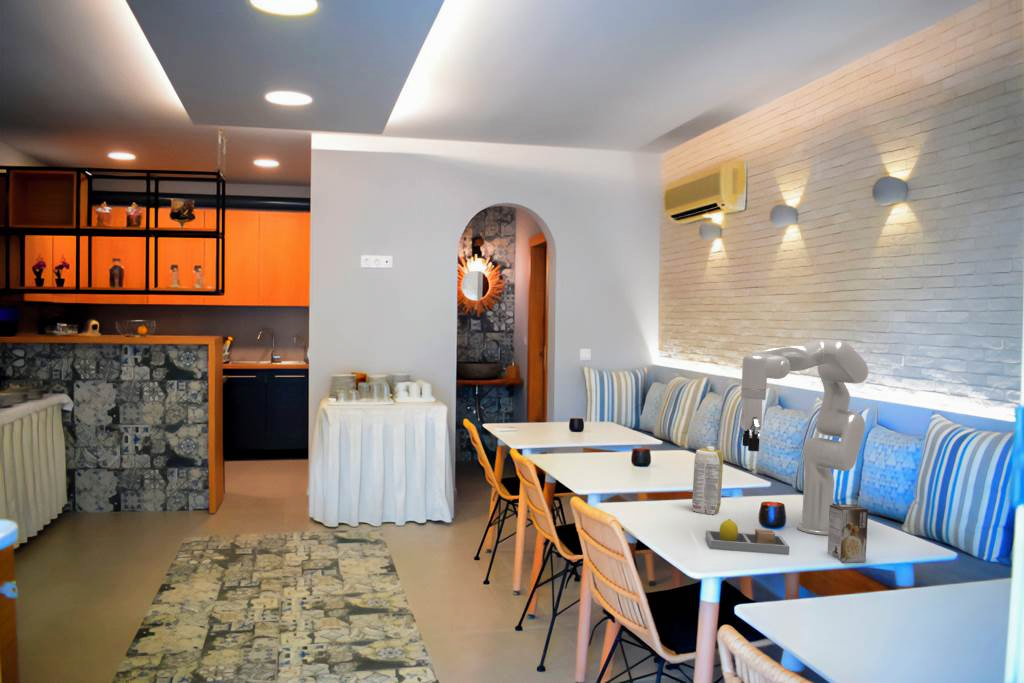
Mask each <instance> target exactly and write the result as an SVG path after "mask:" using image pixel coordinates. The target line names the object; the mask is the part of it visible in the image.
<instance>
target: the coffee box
mask: <svg viewBox="0 0 1024 683" xmlns="http://www.w3.org/2000/svg"><path fill="white" fill-rule="evenodd" d="M868 516H869V508H867V507H863V506H860V505H858V504H857V505H856V504H833V505H830V512H829V532H828V535H827V536H828V538H827V555H828V556H831V557H832V558H833V557H834V558H835V559H836V560H838V561H839V562H840V564H841V563H842V564H844V563H847V564H848V563H862V562H863V563H864V562H866V560H867V544H868V543H867V538H868V523H869V522H868V521H869V519H868V518H869V517H868Z"/></svg>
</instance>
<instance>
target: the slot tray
mask: <svg viewBox="0 0 1024 683" xmlns="http://www.w3.org/2000/svg"><path fill="white" fill-rule="evenodd" d="M704 538H705V541H706V543H707V545H708V547H709V548H710V550H718V551H719V550H720V551H732V552H742V553H743V552H746V553H758V554H769V555H771V554H772V555H773V554H774V555H784V556H785V555H787V556H789V555H790V545H789V544H788V543H787V542H786V541H785V539H784V538H783V537H782V536H781V535H776V534H775V545H774V544H761V543H755V533H746V532H745V533H744V532H738V537H737V539H736V540H735V541H723V540H722V539H721V537H720V530H708V529H707V530H705V537H704Z"/></svg>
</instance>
